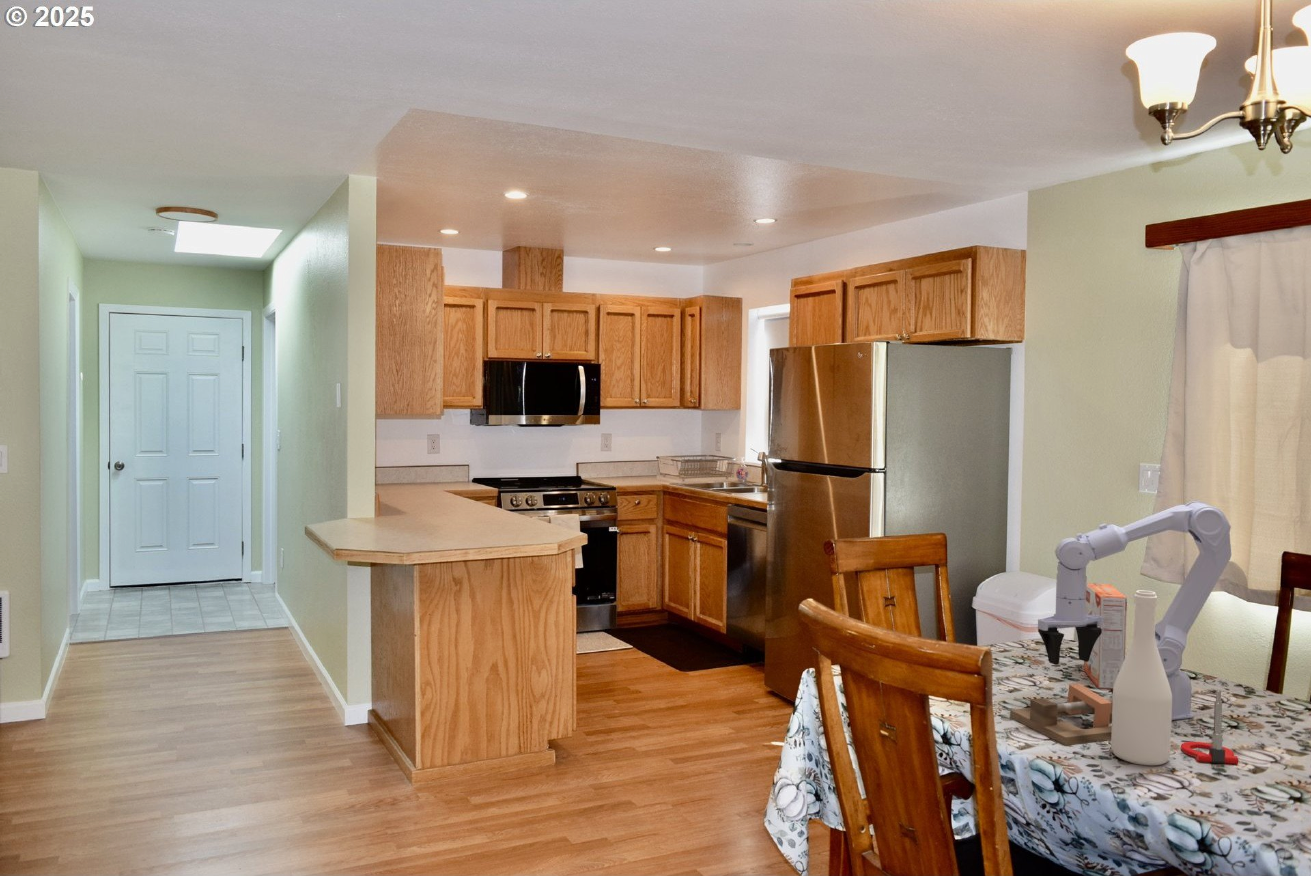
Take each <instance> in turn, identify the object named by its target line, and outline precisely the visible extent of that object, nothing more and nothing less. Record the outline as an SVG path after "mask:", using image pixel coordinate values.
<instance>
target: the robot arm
mask: <svg viewBox="0 0 1311 876" xmlns="http://www.w3.org/2000/svg"><path fill="white" fill-rule="evenodd" d="M1098 526H1099V528H1097V529H1094V530H1091V531H1089V532H1085V533H1083V534H1082V533H1081V532H1079V533H1076V535H1075V536H1076V538H1075V537H1067V538H1064V539H1062V540H1061V541H1059V542H1058V543H1057V546H1056V548H1055V550H1054V553H1055V557H1056V559H1057V560H1058V562H1057V565H1056V566H1057V567H1056V568H1057V569H1056V570H1057V573H1056V582H1055V583H1056V585H1055V586H1056V587H1055V613H1053V616H1048V617H1045V618H1039V619H1037V632H1038V634H1039V636H1040V637H1041V640H1042V642H1043V644H1044V647H1045V650H1046V654H1047V659H1048V663H1049V664H1052V665H1056V666H1057V665H1059V664H1060V663H1059V662H1060V657H1061V656H1060V655H1061V646H1062V642H1063V639H1064V636H1065V634H1064V633H1063V632H1060V631H1059V630H1058V629H1068V628H1069V629H1070V628H1075V630H1076V634H1077V635H1076V636H1077V642H1078V646H1077V647H1078V649H1077V650H1078V652H1077V653H1078V659H1079V660H1080V661H1083V662H1084V661H1085V662H1088V661H1089V658H1090V655H1091V652H1092V649H1093V647H1094V644H1095V642H1096V641H1097V639H1098V637H1099V636H1100V635H1101V634H1102V629H1101V628H1099V627H1097V626H1102V617H1101V616H1098V615H1085V614H1086V584H1088V583H1087V580H1088V579H1087V578H1088V577H1087V567H1088V564H1089V563H1090V562H1091V561H1093V562H1095V561H1098V560H1100V559H1103V558H1106V557H1110V556H1113V555H1115V554H1117V553H1121V552H1124V551H1125V550H1126V547H1127V546H1128V544H1129V543H1130V542H1133V541H1136V540H1140V539H1143V538H1147V537H1150V536H1154V535H1157V534H1160V533H1164V532H1166V531H1175V532H1180V533H1186V534H1190V535H1191V536H1192V537H1193V540H1194V543H1195V545H1196V547H1197V549H1198V551H1199V552H1198V553H1199V554H1198V556H1197V557H1196V559H1195V561H1194V562H1193V564H1192V566H1191V568H1190V570H1189V571H1188V573H1187V575H1186V577H1185V579H1184V580H1183V582H1182V584H1181V585H1180V587H1179V589H1178V591H1177V592H1176V594H1175V596H1174V598H1173V599H1172V602H1171V603H1170V605H1169V607H1168V609H1167V611H1166V612H1165V613H1164V615H1163V617H1162V619H1161V620H1160V621H1159V622H1157V623H1155V639H1156V645H1157V648H1158V651H1159V654H1160V658H1161V661H1162V664H1163V667H1164V670H1165V673H1166V676H1167V679H1168V682H1169V685H1170V689H1171V693H1172V718H1171V721H1174V720H1175V721H1176V720H1183V719H1191V718H1192V719H1194V717H1195V714H1192V713H1191V712H1192V710H1191V709H1192V687H1193V686H1192V682H1191V679H1190V677H1189V675H1188V674H1187V673H1186V672H1185V671H1183V670H1181V667H1182V664H1183V653H1184V651H1185V649H1186V646H1187V639H1188V637H1187V636H1188V633H1189V631H1190V630H1191V628H1192V627H1193V625H1194V623H1195V621H1196V620H1197V618H1198V616H1199V614H1200V613H1201V611H1202V609H1203V607H1204V606H1205V604H1206V602H1207V600H1208V598H1209V597H1210V595H1211V594H1212V591H1213V590H1214V588H1215V587H1216V585H1217V583H1218V582H1219V579H1220V578H1221V576H1222V574H1223V572H1224V571H1225V570H1226V567H1227V566H1228V563H1229V561H1230V560H1231V557H1232V545H1231V535H1230V532H1231V529H1232V525H1231V524H1230V522H1229V520H1228V519H1227V517H1226V515H1225V513H1224V512H1223V511H1222V510H1221V509H1219V508H1217V507H1215V506H1212V505H1209V504H1207V503H1206V502H1203V501H1201V500H1193V501H1189V502H1188V503H1186V504H1179V505H1175V506H1172V507H1169V508H1168V509H1165V510H1162V511H1159V512H1157V513H1154V514H1152V515H1149V516H1147V517H1144V518H1141V519H1140V520H1137V521H1134V522H1131V523H1129V524H1127V525H1124V526H1117V525H1115V524H1113V523H1112V524H1109V525H1108V524H1106V523H1102V524H1099V525H1098Z"/></svg>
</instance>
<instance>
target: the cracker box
mask: <svg viewBox="0 0 1311 876" xmlns="http://www.w3.org/2000/svg"><path fill="white" fill-rule="evenodd" d="M1127 604H1128V597H1126V596H1125V595H1124V594H1123V593H1122V592H1120V591H1119V590H1118V589H1117V588H1116V587H1114V586H1113V585H1112V584H1110V583H1109V584H1108V583H1091V582H1090V583H1089V582H1088V583H1086V614H1085V615H1098V616H1101V617H1102V626H1097V627H1099V628H1101V629H1102V634H1101V635H1100V636H1099V637H1098V639H1097V641H1096V642H1095V644H1094V647H1093V649H1092V652H1091V655H1090V658H1089V661H1088V662H1085V661H1083V671H1084V672H1085V673H1086V675H1087V676H1088V677H1089V678H1090V679H1091V681H1092V682H1093V684H1094V686H1095V687H1097V689H1098V690H1101V689H1102V690H1113V687H1114V684H1115V681H1116V678H1117V676H1118V674H1119V671H1120V669H1121V667H1122V664H1123V662H1124V660H1125V657H1126V644H1127V641H1126V640H1127V611H1128V609H1127V607H1128V605H1127Z"/></svg>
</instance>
